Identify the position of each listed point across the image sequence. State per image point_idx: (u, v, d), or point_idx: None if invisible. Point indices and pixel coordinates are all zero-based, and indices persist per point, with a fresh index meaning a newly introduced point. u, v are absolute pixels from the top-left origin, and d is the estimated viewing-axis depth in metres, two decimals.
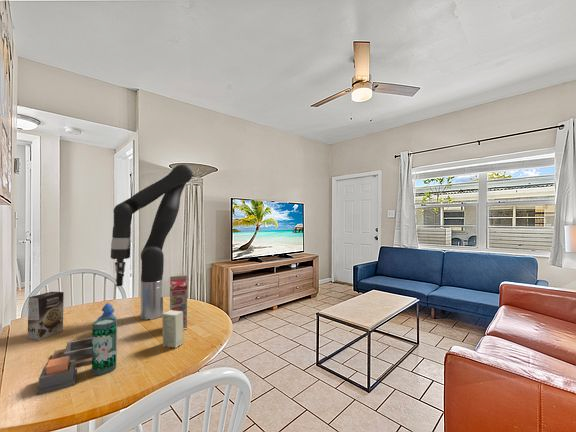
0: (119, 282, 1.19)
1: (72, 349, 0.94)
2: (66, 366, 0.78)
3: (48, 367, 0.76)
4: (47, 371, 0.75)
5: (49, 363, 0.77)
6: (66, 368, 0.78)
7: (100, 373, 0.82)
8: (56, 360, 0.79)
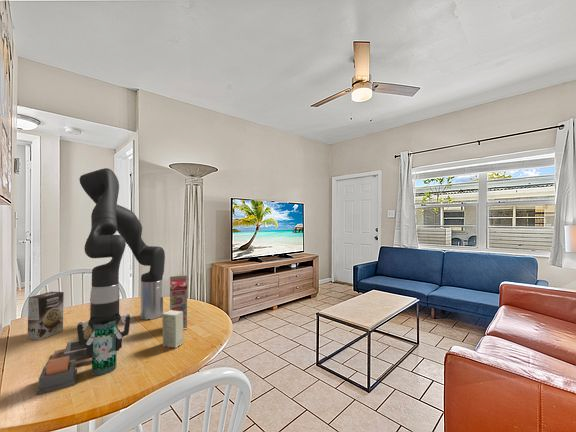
0: (121, 343, 0.88)
1: (72, 349, 0.94)
2: (66, 366, 0.78)
3: (48, 367, 0.76)
4: (47, 371, 0.75)
5: (49, 363, 0.77)
6: (66, 368, 0.78)
7: (100, 373, 0.82)
8: (56, 360, 0.79)
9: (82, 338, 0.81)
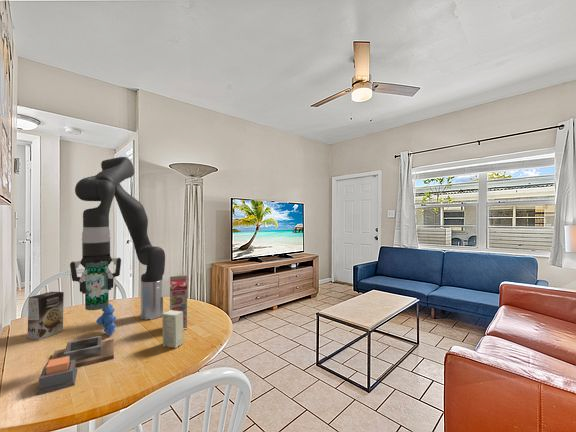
0: None
1: (72, 349, 0.94)
2: (66, 366, 0.78)
3: (48, 367, 0.76)
4: (47, 371, 0.75)
5: (49, 363, 0.77)
6: (66, 368, 0.78)
7: (93, 308, 0.87)
8: (56, 360, 0.79)
9: (75, 275, 0.86)
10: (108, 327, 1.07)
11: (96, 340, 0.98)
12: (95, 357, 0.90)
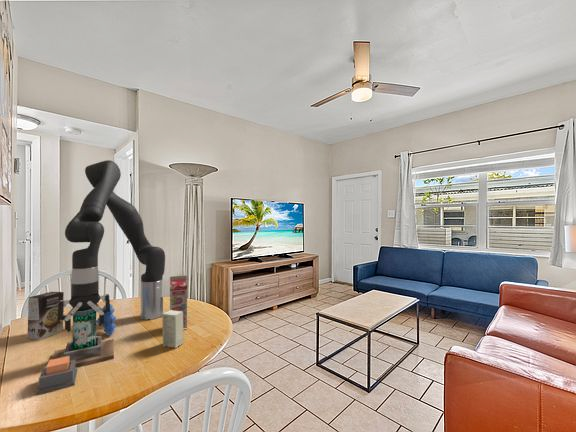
0: (103, 319, 0.96)
1: None
2: (66, 366, 0.78)
3: (48, 367, 0.76)
4: (47, 371, 0.75)
5: (49, 363, 0.77)
6: (66, 368, 0.78)
7: None
8: (56, 360, 0.79)
9: (61, 314, 0.89)
10: (108, 327, 1.07)
11: (96, 340, 0.98)
12: (95, 357, 0.90)
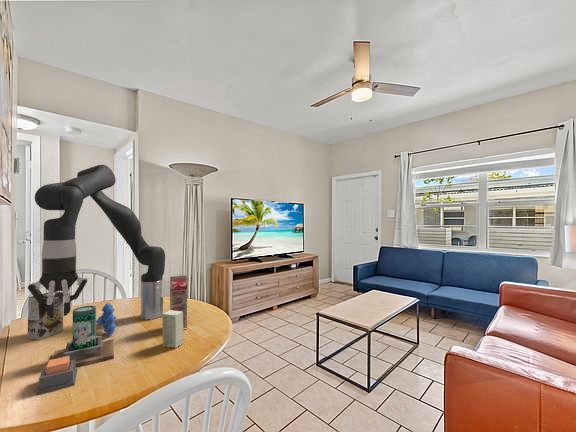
0: (70, 308, 0.80)
1: None
2: (66, 366, 0.78)
3: (48, 367, 0.76)
4: (47, 371, 0.75)
5: (49, 363, 0.77)
6: (66, 368, 0.78)
7: None
8: (56, 360, 0.79)
9: (39, 297, 0.75)
10: (108, 327, 1.07)
11: (96, 340, 0.98)
12: (95, 357, 0.90)
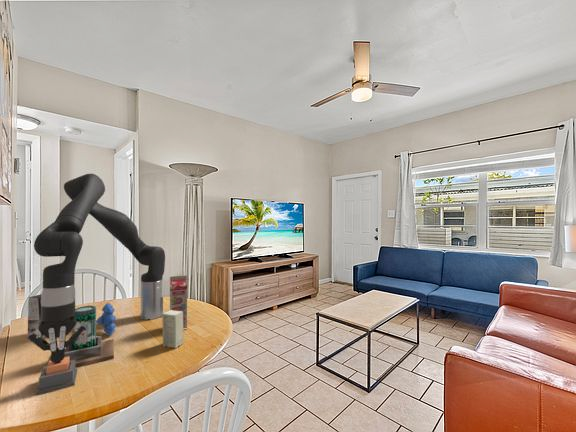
0: (64, 355, 0.79)
1: None
2: (66, 367, 0.78)
3: (48, 368, 0.76)
4: (47, 372, 0.75)
5: (49, 364, 0.77)
6: (66, 369, 0.78)
7: None
8: None
9: (43, 344, 0.76)
10: (108, 327, 1.07)
11: (96, 340, 0.98)
12: (95, 357, 0.90)
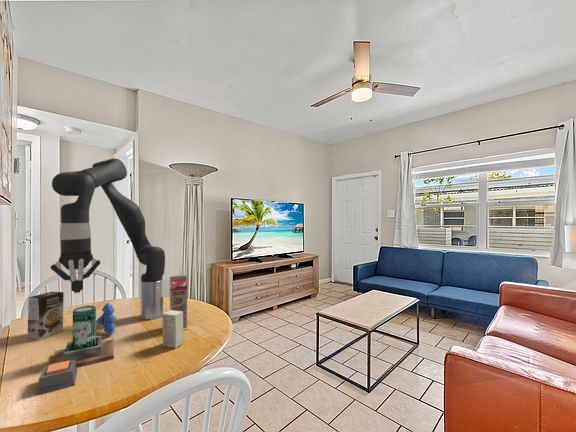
0: (82, 286, 0.87)
1: None
2: None
3: (48, 372, 0.76)
4: None
5: (49, 368, 0.77)
6: None
7: None
8: (56, 365, 0.79)
9: (63, 274, 0.83)
10: (108, 327, 1.07)
11: (96, 340, 0.98)
12: (95, 357, 0.90)
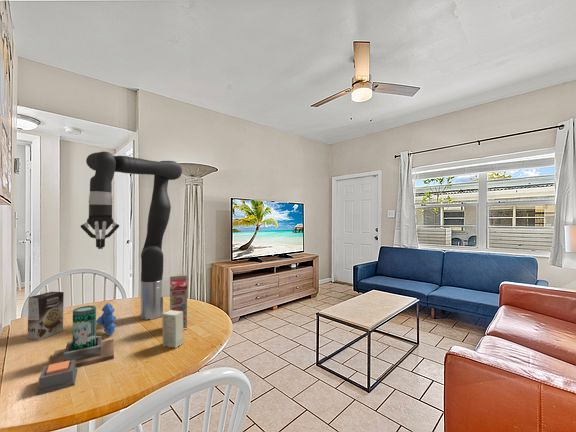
0: (104, 244, 1.07)
1: None
2: None
3: (48, 372, 0.76)
4: None
5: (49, 368, 0.77)
6: None
7: None
8: (56, 365, 0.79)
9: (90, 233, 1.03)
10: (108, 327, 1.07)
11: (96, 340, 0.98)
12: (95, 357, 0.90)
